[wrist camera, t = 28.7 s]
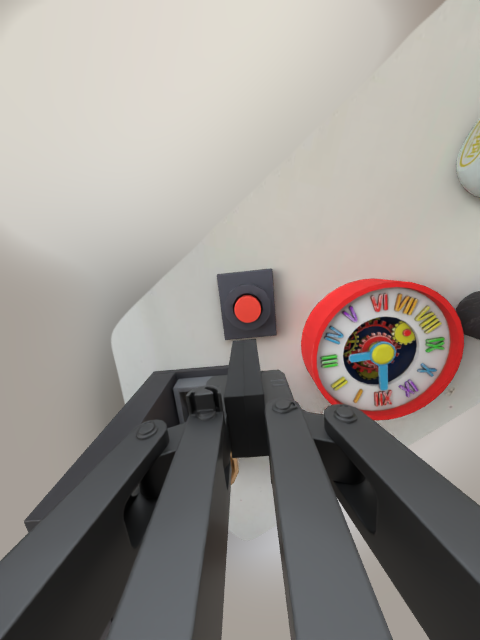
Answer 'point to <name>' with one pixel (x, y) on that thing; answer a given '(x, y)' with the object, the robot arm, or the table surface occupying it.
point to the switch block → (241, 285)
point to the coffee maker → (146, 404)
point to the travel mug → (470, 315)
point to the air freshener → (470, 162)
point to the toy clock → (382, 346)
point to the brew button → (247, 309)
